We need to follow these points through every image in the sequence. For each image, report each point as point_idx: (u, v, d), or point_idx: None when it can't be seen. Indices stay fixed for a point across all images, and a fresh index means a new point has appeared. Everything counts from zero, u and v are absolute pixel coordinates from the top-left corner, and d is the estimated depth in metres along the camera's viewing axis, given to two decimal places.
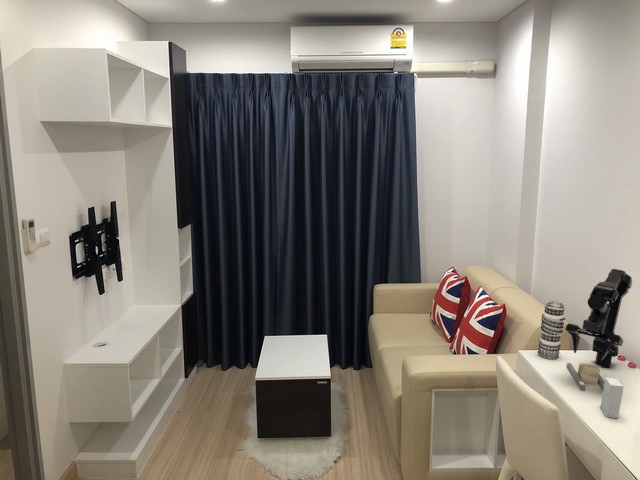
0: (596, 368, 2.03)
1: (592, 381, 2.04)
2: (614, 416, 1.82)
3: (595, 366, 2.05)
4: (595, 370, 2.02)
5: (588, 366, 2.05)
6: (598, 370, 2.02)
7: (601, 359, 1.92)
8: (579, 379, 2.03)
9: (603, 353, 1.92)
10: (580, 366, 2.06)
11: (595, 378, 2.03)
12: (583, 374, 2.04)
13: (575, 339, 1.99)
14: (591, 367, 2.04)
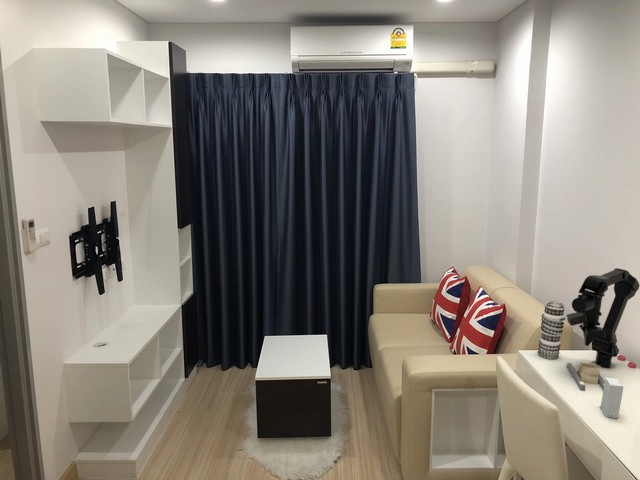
0: (596, 368, 2.03)
1: (592, 381, 2.04)
2: (614, 416, 1.82)
3: (595, 366, 2.05)
4: (595, 370, 2.02)
5: (588, 366, 2.05)
6: (598, 370, 2.02)
7: None
8: (579, 379, 2.03)
9: (585, 339, 2.09)
10: (580, 366, 2.06)
11: (595, 378, 2.03)
12: (583, 374, 2.04)
13: (583, 332, 2.10)
14: (591, 367, 2.04)
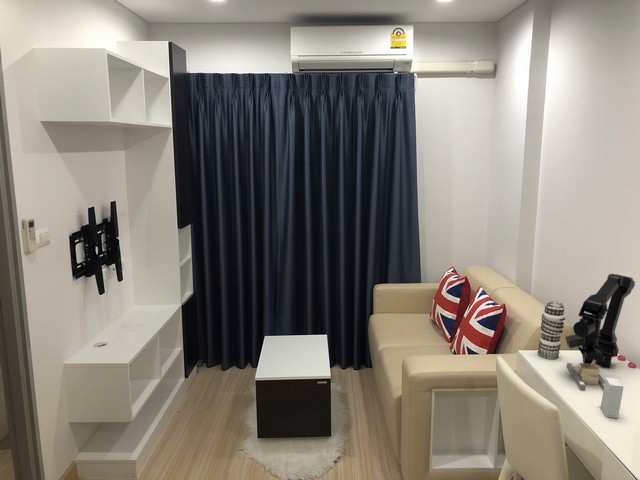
0: (596, 368, 2.03)
1: (592, 381, 2.03)
2: (614, 416, 1.82)
3: (595, 366, 2.05)
4: (596, 370, 2.02)
5: (588, 366, 2.04)
6: (598, 370, 2.02)
7: None
8: (579, 379, 2.03)
9: (584, 362, 2.08)
10: (580, 366, 2.06)
11: (596, 378, 2.03)
12: (583, 374, 2.03)
13: (582, 355, 2.09)
14: (591, 367, 2.03)
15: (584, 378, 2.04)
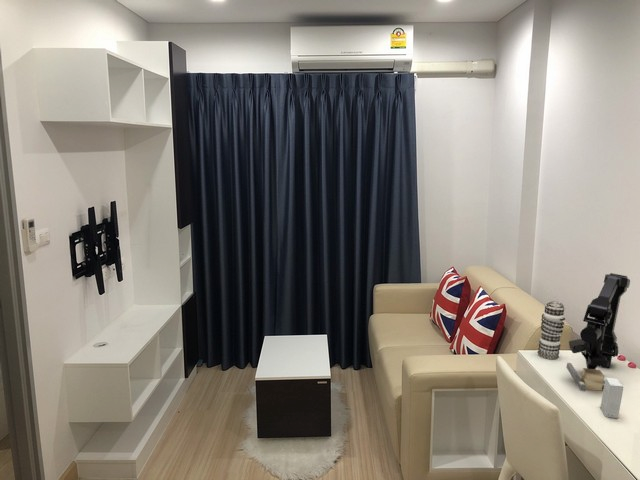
0: (600, 374, 1.98)
1: (596, 387, 1.99)
2: (614, 416, 1.82)
3: (599, 372, 2.00)
4: (600, 376, 1.97)
5: (592, 372, 2.00)
6: (602, 376, 1.97)
7: None
8: (579, 379, 2.03)
9: (587, 367, 2.04)
10: (584, 372, 2.01)
11: (600, 384, 1.98)
12: (587, 380, 1.99)
13: (586, 360, 2.04)
14: (595, 373, 1.99)
15: (588, 384, 1.99)
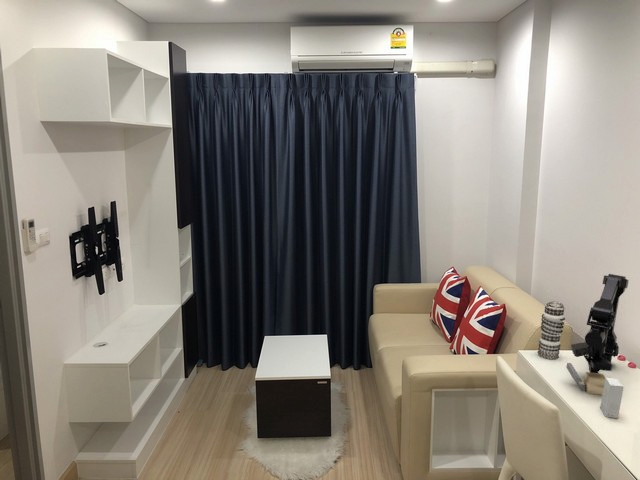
0: (603, 378, 1.95)
1: (599, 392, 1.95)
2: (614, 416, 1.82)
3: (602, 376, 1.97)
4: (603, 380, 1.94)
5: (595, 376, 1.97)
6: None
7: None
8: (579, 379, 2.03)
9: (590, 371, 2.00)
10: (587, 376, 1.98)
11: (603, 388, 1.95)
12: (590, 384, 1.95)
13: (589, 364, 2.01)
14: (598, 377, 1.96)
15: (590, 388, 1.96)
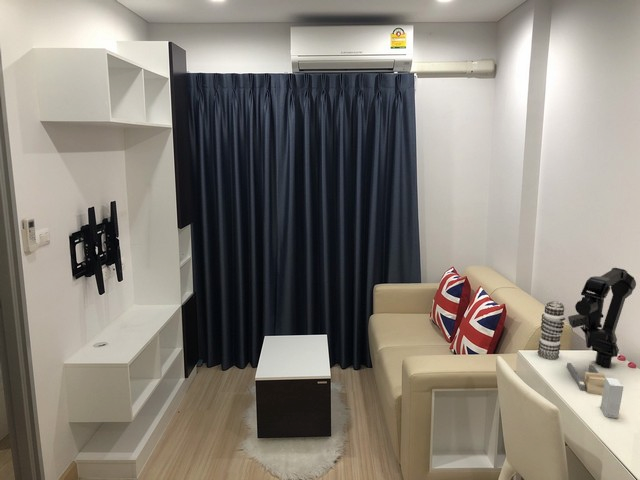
0: (603, 378, 1.95)
1: (599, 392, 1.95)
2: (614, 416, 1.82)
3: (602, 376, 1.97)
4: (603, 380, 1.94)
5: (595, 376, 1.97)
6: None
7: (587, 347, 2.08)
8: (579, 379, 2.03)
9: (586, 342, 2.07)
10: (587, 376, 1.98)
11: (603, 388, 1.95)
12: (590, 384, 1.95)
13: (585, 334, 2.08)
14: (598, 377, 1.96)
15: (590, 388, 1.96)
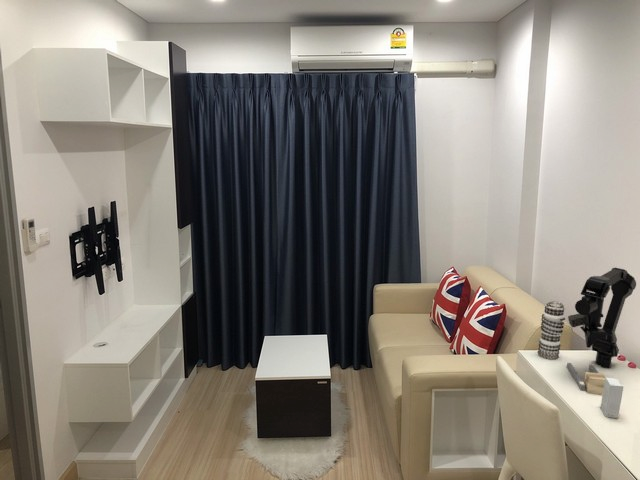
0: (603, 378, 1.95)
1: (599, 392, 1.95)
2: (614, 416, 1.82)
3: (602, 376, 1.97)
4: (603, 380, 1.94)
5: (595, 376, 1.97)
6: None
7: (587, 346, 2.08)
8: (579, 379, 2.03)
9: (586, 341, 2.07)
10: (587, 376, 1.98)
11: (603, 388, 1.95)
12: (590, 384, 1.95)
13: (585, 334, 2.08)
14: (598, 377, 1.96)
15: (590, 388, 1.96)
